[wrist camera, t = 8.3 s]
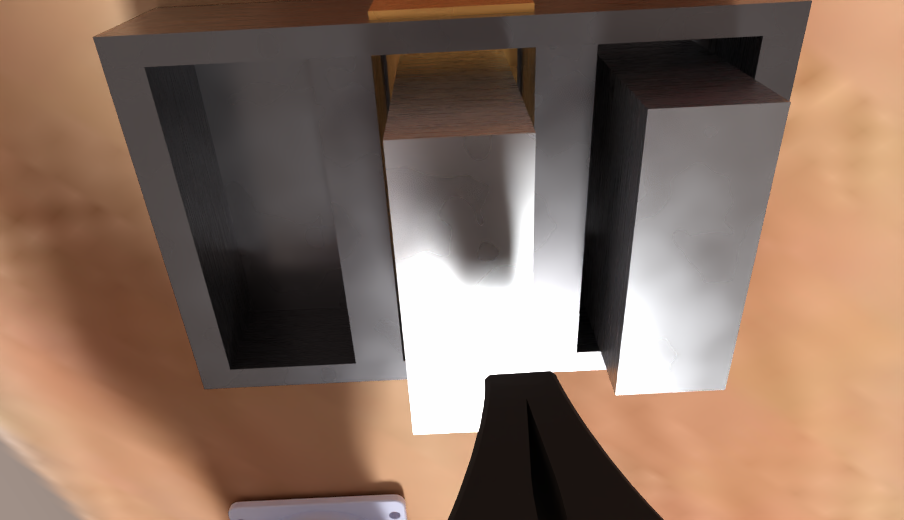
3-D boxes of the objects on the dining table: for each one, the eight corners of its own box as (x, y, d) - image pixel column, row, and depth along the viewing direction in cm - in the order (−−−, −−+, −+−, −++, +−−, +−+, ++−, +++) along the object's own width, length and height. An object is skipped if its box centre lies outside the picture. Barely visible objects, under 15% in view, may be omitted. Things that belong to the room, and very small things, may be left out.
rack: (687, 294, 24) (768, 426, 18) (237, 316, 24) (174, 455, 18) (743, -30, 19) (886, 12, 13) (153, 0, 19) (24, 56, 13)
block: (503, 282, 23) (529, 429, 17) (419, 287, 23) (413, 434, 17) (503, 50, 19) (535, 132, 13) (399, 55, 19) (383, 140, 13)
